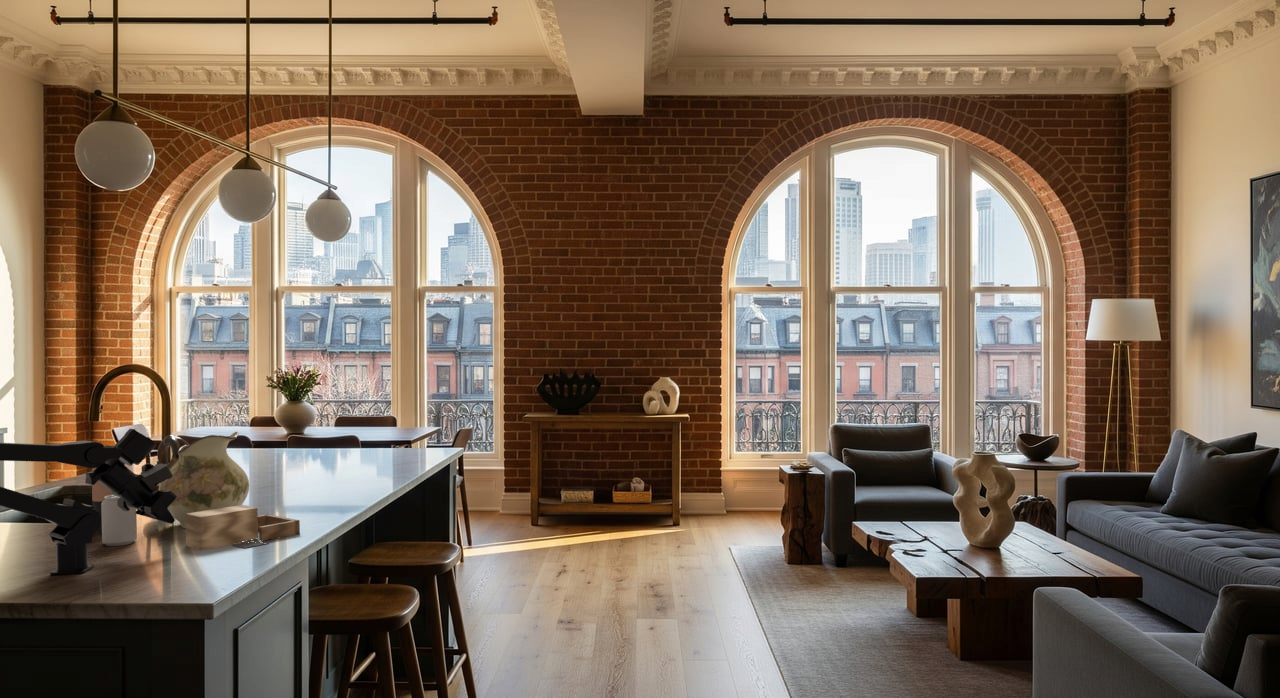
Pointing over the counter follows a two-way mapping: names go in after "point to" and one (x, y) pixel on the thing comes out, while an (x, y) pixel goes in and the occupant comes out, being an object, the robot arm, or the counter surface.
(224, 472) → the pitcher
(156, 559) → the counter surface
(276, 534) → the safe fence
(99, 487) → the travel mug
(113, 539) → the can
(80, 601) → the counter surface
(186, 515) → the oak block
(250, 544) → the plate
